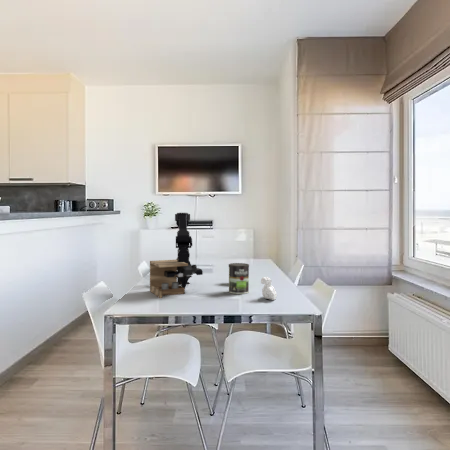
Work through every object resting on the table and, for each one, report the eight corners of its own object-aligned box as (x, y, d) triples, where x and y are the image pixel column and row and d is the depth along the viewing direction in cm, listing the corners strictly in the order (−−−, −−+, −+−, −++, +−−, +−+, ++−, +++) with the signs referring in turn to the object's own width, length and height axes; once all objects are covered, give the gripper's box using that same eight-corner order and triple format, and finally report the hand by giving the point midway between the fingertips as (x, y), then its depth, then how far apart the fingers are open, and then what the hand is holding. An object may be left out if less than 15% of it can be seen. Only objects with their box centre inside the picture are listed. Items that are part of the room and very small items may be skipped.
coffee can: (251, 293, 194) (251, 265, 194) (231, 294, 192) (231, 266, 191) (245, 289, 204) (245, 262, 204) (226, 290, 202) (226, 263, 201)
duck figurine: (267, 300, 189) (253, 281, 189) (280, 290, 189) (266, 272, 189) (269, 306, 177) (254, 286, 177) (282, 296, 177) (267, 276, 177)
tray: (155, 292, 196) (155, 282, 196) (178, 290, 201) (178, 280, 201) (161, 295, 188) (161, 285, 188) (184, 293, 193) (184, 283, 193)
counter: (149, 291, 200) (149, 260, 199) (176, 288, 206) (176, 259, 205) (159, 298, 183) (159, 265, 183) (188, 295, 189) (188, 263, 189)
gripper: (170, 261, 186) (170, 294, 187) (206, 259, 194) (207, 290, 195) (163, 259, 196) (163, 290, 197) (198, 257, 204) (198, 287, 205)
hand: (183, 289), depth 198 cm, fingers closed
